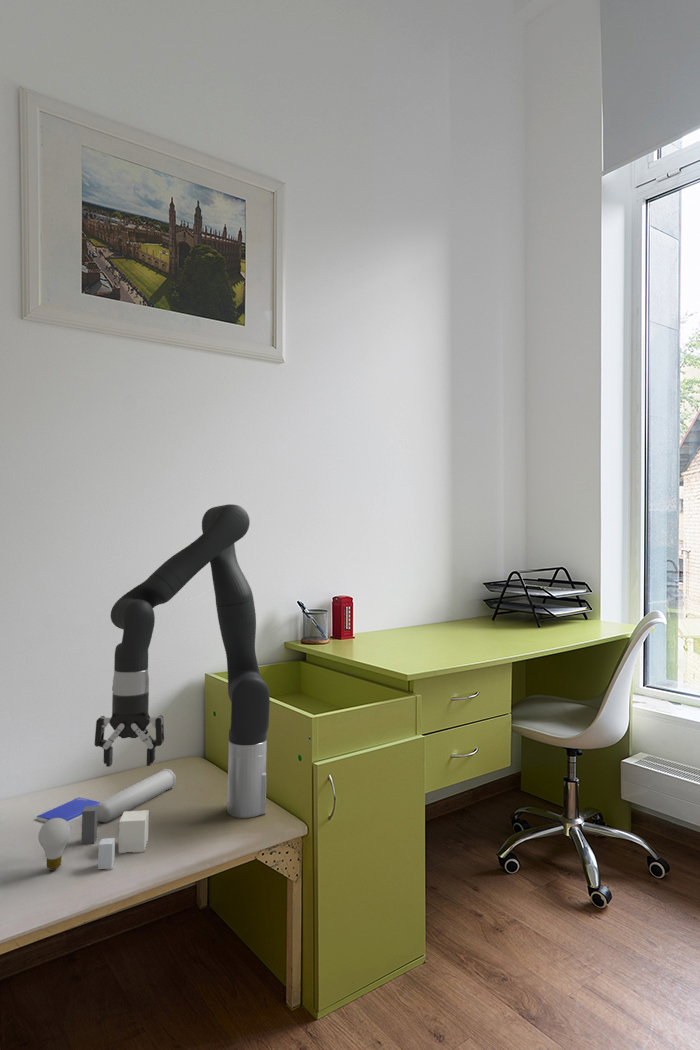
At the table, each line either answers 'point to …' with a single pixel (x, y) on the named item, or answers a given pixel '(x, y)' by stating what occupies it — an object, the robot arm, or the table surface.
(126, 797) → the tube
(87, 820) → the post
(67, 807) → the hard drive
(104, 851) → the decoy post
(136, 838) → the off-white rectangular block
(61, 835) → the light bulb
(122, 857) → the table surface
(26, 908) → the table surface
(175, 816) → the table surface
